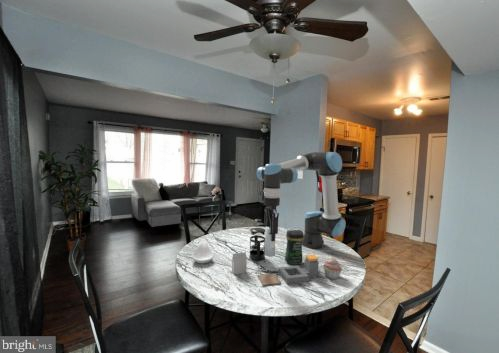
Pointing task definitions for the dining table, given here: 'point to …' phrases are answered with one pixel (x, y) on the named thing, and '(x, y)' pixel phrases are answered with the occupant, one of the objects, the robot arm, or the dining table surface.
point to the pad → (269, 279)
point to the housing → (299, 272)
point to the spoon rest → (202, 253)
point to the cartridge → (268, 251)
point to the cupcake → (332, 268)
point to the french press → (257, 244)
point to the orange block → (311, 258)
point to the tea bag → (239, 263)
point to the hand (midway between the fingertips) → (270, 244)
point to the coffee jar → (294, 246)
